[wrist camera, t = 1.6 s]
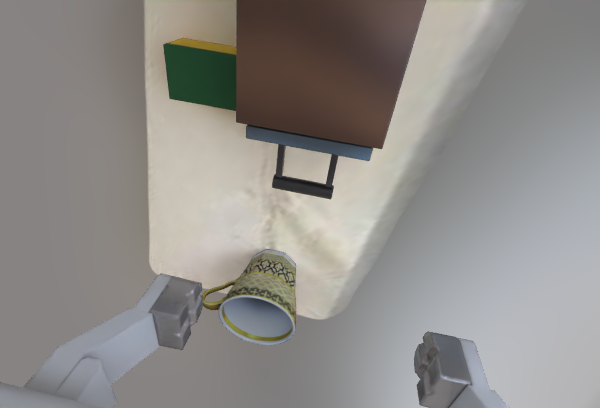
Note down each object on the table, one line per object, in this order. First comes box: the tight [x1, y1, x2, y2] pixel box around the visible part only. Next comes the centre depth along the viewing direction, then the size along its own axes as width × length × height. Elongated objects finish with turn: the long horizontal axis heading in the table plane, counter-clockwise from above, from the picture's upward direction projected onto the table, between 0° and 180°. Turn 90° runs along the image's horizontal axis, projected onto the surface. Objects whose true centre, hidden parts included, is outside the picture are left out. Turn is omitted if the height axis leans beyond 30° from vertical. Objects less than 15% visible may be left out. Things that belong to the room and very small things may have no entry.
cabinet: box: [236, 0, 426, 149], centre depth 26 cm, size 15×12×9 cm
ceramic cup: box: [202, 249, 296, 345], centre depth 45 cm, size 13×10×10 cm
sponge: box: [163, 38, 237, 111], centre depth 32 cm, size 5×7×4 cm
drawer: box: [246, 125, 373, 199], centre depth 29 cm, size 19×11×7 cm, turn 173°
